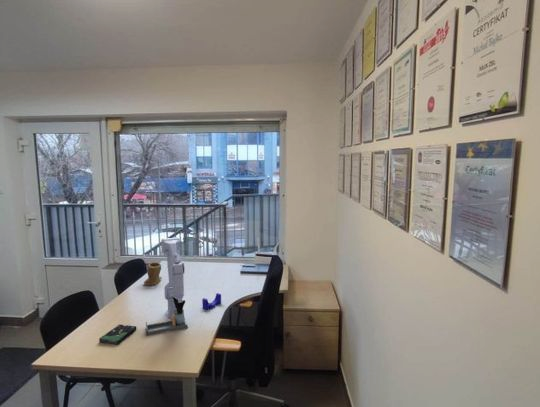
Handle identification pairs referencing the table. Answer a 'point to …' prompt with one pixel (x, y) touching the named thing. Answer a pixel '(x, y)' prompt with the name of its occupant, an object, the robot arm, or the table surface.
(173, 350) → the table surface
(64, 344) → the table surface
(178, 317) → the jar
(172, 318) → the bar
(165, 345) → the table surface
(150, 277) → the brown boot
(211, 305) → the cable clip
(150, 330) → the tray
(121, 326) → the disk drive
